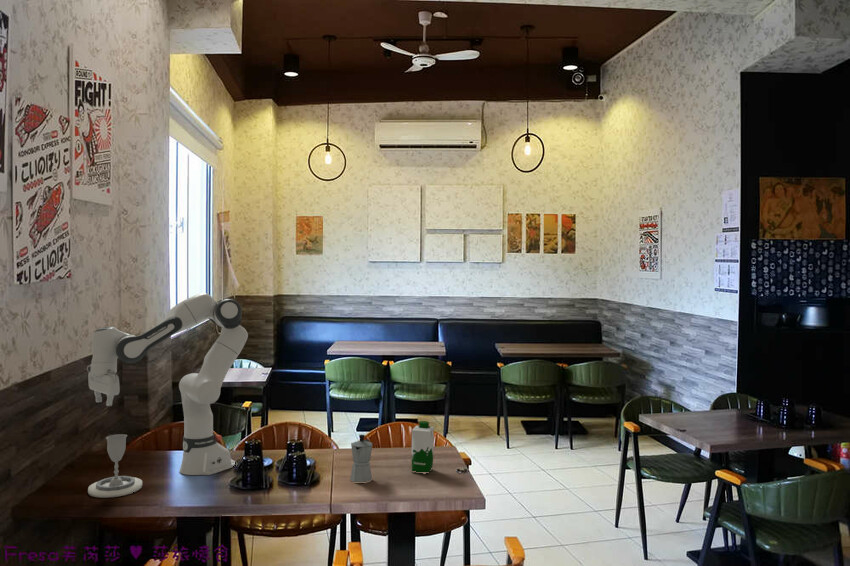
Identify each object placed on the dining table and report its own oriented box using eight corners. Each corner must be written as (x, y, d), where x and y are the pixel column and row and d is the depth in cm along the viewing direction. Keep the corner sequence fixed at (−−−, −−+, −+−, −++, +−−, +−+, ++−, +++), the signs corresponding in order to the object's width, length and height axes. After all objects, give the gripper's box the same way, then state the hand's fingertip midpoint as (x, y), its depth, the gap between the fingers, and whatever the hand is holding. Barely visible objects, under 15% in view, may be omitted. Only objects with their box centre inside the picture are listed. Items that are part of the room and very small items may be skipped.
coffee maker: (367, 486, 235) (367, 439, 235) (345, 484, 237) (346, 438, 237) (377, 474, 250) (378, 430, 250) (357, 472, 252) (357, 428, 251)
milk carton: (434, 468, 258) (435, 421, 258) (429, 475, 249) (430, 426, 249) (414, 467, 260) (415, 420, 260) (409, 473, 251) (409, 425, 251)
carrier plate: (129, 477, 241) (129, 470, 241) (151, 488, 229) (151, 481, 229) (80, 489, 227) (80, 482, 227) (100, 501, 215) (100, 493, 215)
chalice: (121, 480, 233) (122, 433, 233) (130, 484, 229) (130, 436, 229) (101, 485, 227) (102, 436, 227) (110, 489, 223) (110, 440, 223)
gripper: (124, 370, 235) (123, 406, 235) (101, 364, 248) (101, 398, 248) (107, 372, 230) (106, 409, 230) (85, 366, 243) (84, 401, 243)
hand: (103, 403), depth 239 cm, fingers open, 8 cm apart
